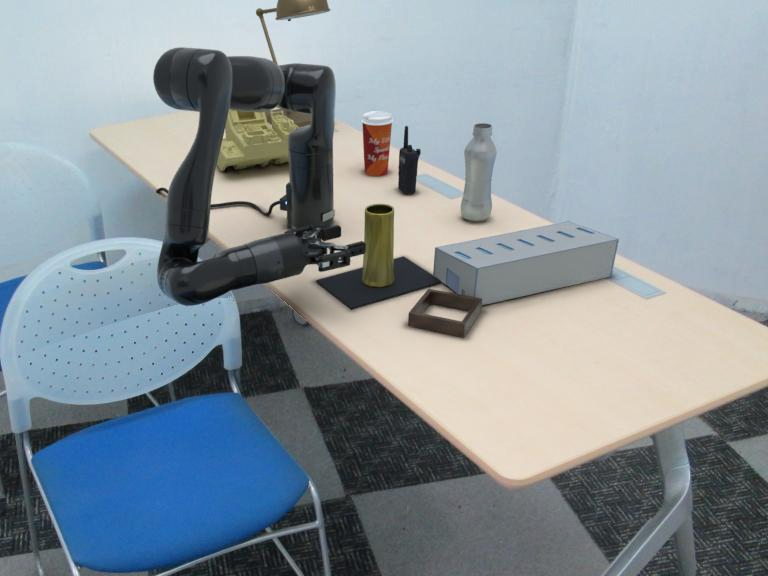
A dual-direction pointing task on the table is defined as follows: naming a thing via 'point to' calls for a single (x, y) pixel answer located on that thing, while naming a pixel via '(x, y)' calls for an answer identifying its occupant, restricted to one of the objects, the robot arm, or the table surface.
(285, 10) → the lamp
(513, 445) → the table surface
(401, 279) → the mat
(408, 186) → the two-way radio
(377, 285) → the vase
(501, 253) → the warehouse
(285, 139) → the control panel
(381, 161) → the paper cup
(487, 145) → the plastic bottle
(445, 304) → the holder
